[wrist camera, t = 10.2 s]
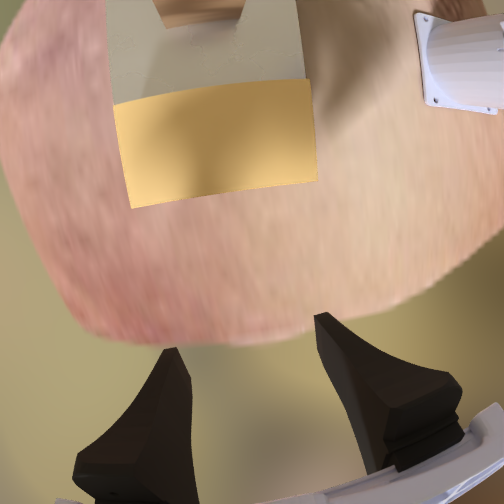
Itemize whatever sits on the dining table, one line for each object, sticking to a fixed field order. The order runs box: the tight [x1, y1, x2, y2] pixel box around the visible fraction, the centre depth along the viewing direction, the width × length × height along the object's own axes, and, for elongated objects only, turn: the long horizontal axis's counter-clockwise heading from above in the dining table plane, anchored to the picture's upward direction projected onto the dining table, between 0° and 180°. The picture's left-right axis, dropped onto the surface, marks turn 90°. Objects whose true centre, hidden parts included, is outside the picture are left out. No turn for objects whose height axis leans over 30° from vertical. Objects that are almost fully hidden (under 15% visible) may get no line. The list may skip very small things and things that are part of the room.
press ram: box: [113, 79, 318, 209], centre depth 16 cm, size 9×5×5 cm, turn 96°
